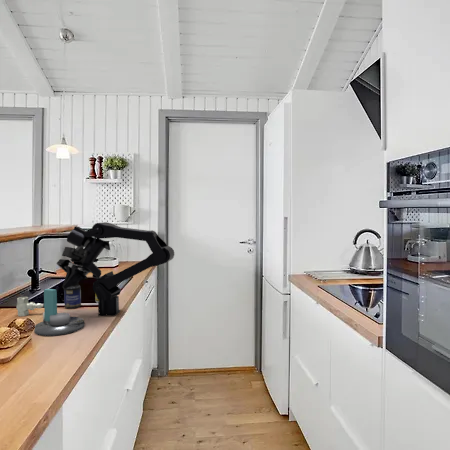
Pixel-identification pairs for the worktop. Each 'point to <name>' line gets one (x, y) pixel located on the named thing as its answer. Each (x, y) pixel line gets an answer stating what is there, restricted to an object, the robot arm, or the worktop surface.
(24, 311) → the valve
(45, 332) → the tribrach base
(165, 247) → the robot arm
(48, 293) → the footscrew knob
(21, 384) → the worktop surface
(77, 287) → the pill bottle
